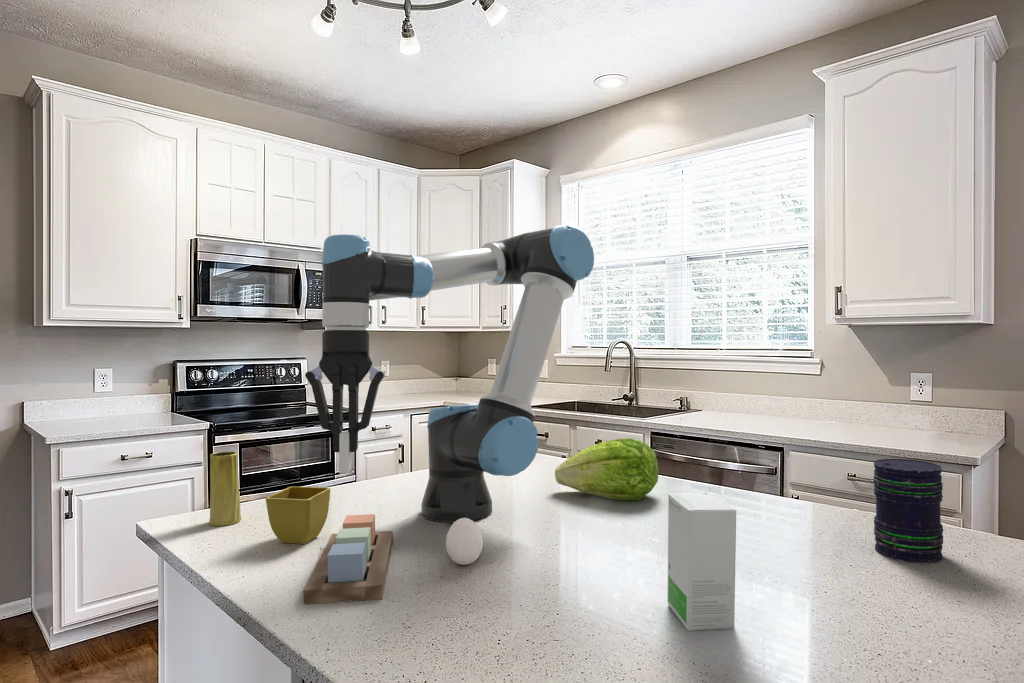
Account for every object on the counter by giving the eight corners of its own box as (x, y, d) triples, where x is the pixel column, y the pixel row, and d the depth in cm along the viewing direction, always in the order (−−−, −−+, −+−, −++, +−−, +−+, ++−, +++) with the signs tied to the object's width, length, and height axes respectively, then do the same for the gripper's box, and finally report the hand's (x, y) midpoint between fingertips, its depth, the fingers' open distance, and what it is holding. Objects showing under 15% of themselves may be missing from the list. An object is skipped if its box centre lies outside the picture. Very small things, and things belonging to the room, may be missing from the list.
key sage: (371, 550, 106) (370, 527, 106) (368, 561, 101) (367, 536, 101) (340, 552, 105) (340, 528, 105) (336, 563, 100) (335, 538, 100)
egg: (441, 561, 106) (441, 515, 106) (475, 555, 108) (474, 511, 108) (452, 573, 100) (452, 525, 100) (488, 567, 103) (487, 520, 103)
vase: (214, 528, 127) (212, 457, 127) (205, 522, 131) (203, 453, 131) (245, 522, 131) (244, 453, 131) (235, 516, 135) (234, 449, 135)
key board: (393, 541, 117) (393, 530, 117) (382, 598, 91) (382, 584, 91) (332, 544, 115) (331, 533, 115) (303, 604, 90) (303, 590, 90)
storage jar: (933, 546, 109) (932, 460, 109) (952, 566, 100) (951, 472, 100) (868, 541, 112) (867, 457, 112) (881, 560, 103) (879, 468, 103)
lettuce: (565, 456, 161) (545, 435, 149) (661, 447, 152) (647, 424, 141) (564, 512, 154) (543, 495, 142) (665, 507, 145) (651, 488, 133)
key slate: (366, 568, 98) (365, 542, 98) (362, 580, 93) (362, 553, 93) (333, 570, 97) (332, 544, 97) (328, 582, 92) (327, 555, 92)
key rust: (375, 536, 114) (374, 514, 114) (372, 545, 109) (372, 522, 109) (346, 537, 113) (346, 515, 113) (343, 546, 108) (342, 523, 108)
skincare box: (666, 604, 87) (665, 492, 87) (713, 602, 88) (711, 490, 88) (688, 633, 79) (686, 509, 79) (739, 630, 80) (737, 507, 79)
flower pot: (309, 549, 113) (308, 499, 113) (265, 546, 115) (264, 497, 115) (332, 533, 122) (331, 487, 122) (291, 531, 124) (290, 486, 124)
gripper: (388, 330, 109) (387, 467, 109) (311, 329, 108) (310, 468, 108) (383, 328, 101) (382, 475, 101) (300, 328, 100) (299, 477, 100)
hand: (345, 471), depth 104 cm, fingers closed
